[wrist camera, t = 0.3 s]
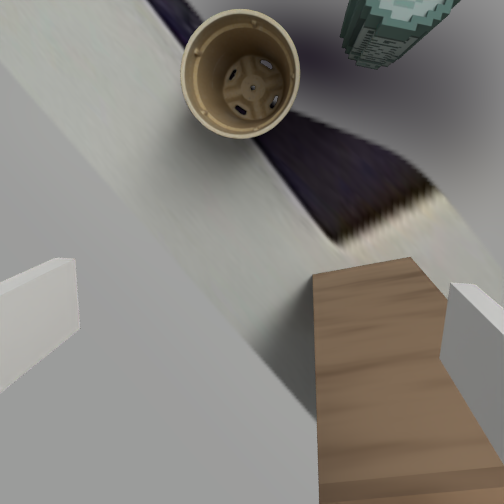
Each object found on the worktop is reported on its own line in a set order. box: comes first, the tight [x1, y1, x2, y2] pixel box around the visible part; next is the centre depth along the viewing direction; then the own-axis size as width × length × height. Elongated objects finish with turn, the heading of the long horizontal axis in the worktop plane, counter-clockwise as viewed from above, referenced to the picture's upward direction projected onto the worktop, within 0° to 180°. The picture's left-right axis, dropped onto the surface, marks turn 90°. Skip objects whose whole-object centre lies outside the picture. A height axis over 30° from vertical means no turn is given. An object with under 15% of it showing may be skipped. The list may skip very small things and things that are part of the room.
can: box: [340, 0, 460, 69], centre depth 32 cm, size 6×6×15 cm
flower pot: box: [180, 9, 300, 139], centre depth 38 cm, size 9×9×9 cm
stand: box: [313, 257, 504, 504], centre depth 31 cm, size 7×10×30 cm
